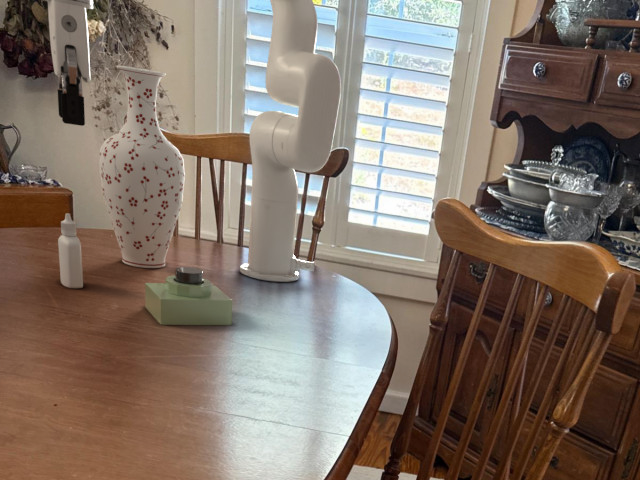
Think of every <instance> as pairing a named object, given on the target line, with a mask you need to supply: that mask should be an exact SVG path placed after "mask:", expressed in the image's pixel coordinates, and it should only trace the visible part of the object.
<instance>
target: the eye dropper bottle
mask: <svg viewBox="0 0 640 480" xmlns="http://www.w3.org/2000/svg"><path fill="white" fill-rule="evenodd" d="M64 215H65V216H64V220H61V221H60V231H61V235H59V237H58V239H57V244H58V245H57V246H58V260H59V272H60V273H59V275H60V277H59V278H60V284H62V286H63V287H66V288H68V289H82V288H83V287H84V276H83V275H84V272H83V256H82V243H81V241H80V239H79V238H78V236H77V222H75V221H73V220H72V217H71V213H65V214H64Z"/></svg>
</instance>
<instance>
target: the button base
mask: <svg viewBox="0 0 640 480" xmlns="http://www.w3.org/2000/svg"><path fill="white" fill-rule="evenodd" d="M144 302H145V303H144V304H145V305H144V306H145V309H146V310H147V311H148V312H149V313H150V314H151V316H152V317H153V318H154V319H155V320H156V321H157V322H158V323H159V325H160V326H167V325H168V326H177V325H178V326H232V324H233V306H234V305H233V303H234V300H233V299H232V298H231V297H230V296H228V295H227V294H225V292H223V291H222V290H221V289H220V288H219V287H218V286H216V285H215V284H213V282H212V281H211V280H209V279H207V278H204V277H203V278H202V284H199V285H189V284H183V283H179V282H176V281H175V275H174V274H173V275H169V276H167V277H166V278H165V283H164V282H163V283H162V282H145V283H144Z"/></svg>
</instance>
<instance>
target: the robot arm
mask: <svg viewBox="0 0 640 480" xmlns="http://www.w3.org/2000/svg"><path fill="white" fill-rule="evenodd" d="M44 1H45V2H47V12H48V13H47V15H48V29H49V41H50V42H49V43H50V52H51V59H52V66H53V73H54V74H55V76H56V77H58V88H57V105H58V106H57V107H58V108H57V109H58V116H59V118H61V120H62V123H64V124H67V125H72V126H73V125H75V126H81V127H83V126H85V124H86V119H85V117H86V116H85V96H83V82H84V83H87V84H88V83H90V82H91V80H92V79H91V78H92V77H91V64H90V42H89V27H88V15H87V10H94V0H44ZM269 2H270V5H271V9H272V27H271V35H270V41H269V42H270V43H269V48H268V49H269V50H268V57H267V63H266V71H265V81H264V82H265V89H266V93H267V95H268V96H269V97H270V98H271V100H273V101H275V102H277V103H279V104H280V105H284V106H289V107H293V108H297V109H298V112H297V115H296V114H293V113H290V112H289V113H288V112H283V111H280V110H279V111H278V110H266V111H264V112H261V113H260V114H258V115H257V116H256V117H255V118H254V120H253V121H252V123H251V126H250V129H249V137H248V138H249V149H250V157H251V170H252V172H251V173H252V179H251V197H250V199H251V200H250V215H249V216H250V218H249V236H248V237H249V238H248V253H247V255H248V257H247V262H246V263H242V264H241V265H240V266H239V267H240V268H239V271H240V273H241V274H243V275H245V276H247V277H249V278H253V279H256V280H260V281H261V280H262V281H268V282H277V283H278V282H279V283H288V282H295V281H297V280H299V277H300V273H299V272H300V271H307V272H314V271H315V261H307V260H305V259H299V258H297V257H296V256H295V255H294V250H295V240H296V239H295V237H296V226H297V214H298V204H299V203H298V202H299V183H298V178H297V175H296V171H300V172H305V173H316V172H319V171H320V170H322V169H323V167H324V166H325V165H326V164H327V162H328V161H329V157H330V156H331V152H332V148H333V143H334V136H335V131H336V126H337V120H338V115H339V109H340V103H341V98H342V97H341V96H342V81H341V75H340V72H339V69H338V66H337V65H336V63H335V62H334V61H333V60H332V58H329V57H328V56H327V55H324V54H320V53H317V52H316V46H317V45H316V44H317V36H318V26H319V25H318V24H319V23H318V15H317V10H316V7H315V3H314V1H313V0H269ZM82 81H83V82H82ZM295 170H296V171H295Z"/></svg>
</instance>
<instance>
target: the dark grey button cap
mask: <svg viewBox="0 0 640 480" xmlns="http://www.w3.org/2000/svg"><path fill="white" fill-rule="evenodd" d="M174 271H175V273H174V274H175V281H176V282H179V283H183V284H189V285H199V284H202V278H204V277H203V275H204V273H203V272H204V271H203V270H202V269H199V268H195V267H190V266H178V267H176V268H175V270H174Z"/></svg>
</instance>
